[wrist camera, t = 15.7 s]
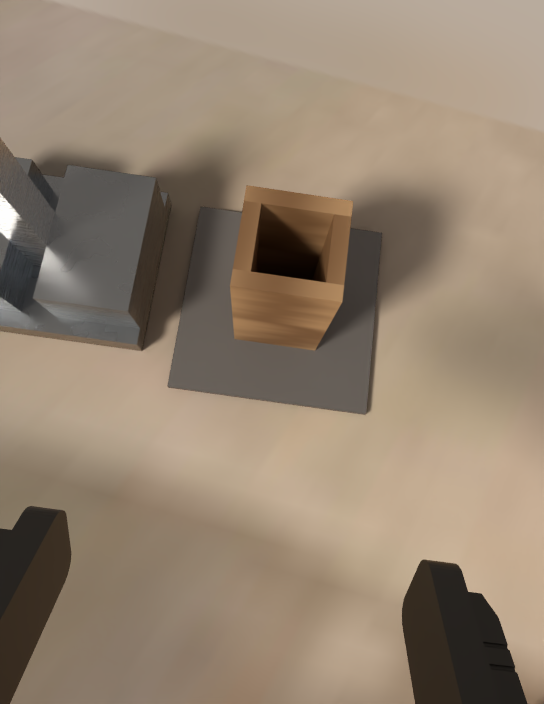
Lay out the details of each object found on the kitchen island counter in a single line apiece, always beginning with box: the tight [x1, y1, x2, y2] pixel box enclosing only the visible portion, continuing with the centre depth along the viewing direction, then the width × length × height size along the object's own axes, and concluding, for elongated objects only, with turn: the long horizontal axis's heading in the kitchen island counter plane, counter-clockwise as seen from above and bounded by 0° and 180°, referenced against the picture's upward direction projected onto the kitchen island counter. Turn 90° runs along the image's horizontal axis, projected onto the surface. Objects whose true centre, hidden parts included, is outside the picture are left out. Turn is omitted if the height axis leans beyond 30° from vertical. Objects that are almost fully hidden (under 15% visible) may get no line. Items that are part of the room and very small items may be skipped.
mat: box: [168, 207, 382, 415], centre depth 32 cm, size 12×12×1 cm
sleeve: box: [230, 185, 353, 351], centre depth 27 cm, size 5×5×9 cm
